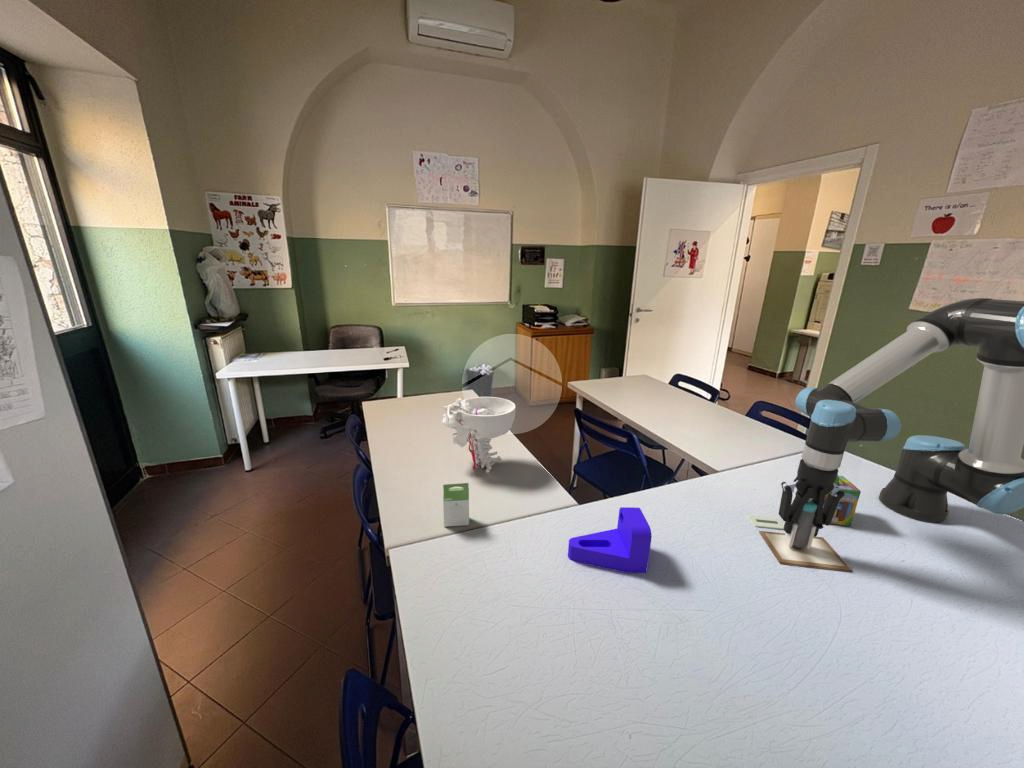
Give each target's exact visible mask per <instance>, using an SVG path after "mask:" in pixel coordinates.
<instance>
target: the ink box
mask: <svg viewBox="0 0 1024 768" xmlns="http://www.w3.org/2000/svg"><path fill="white" fill-rule="evenodd" d="M442 488H443V496H442V502H443V505H442V506H443V508H442V509H443V526H444V528H447V527H460V526H469V525H470V486H469V482H461V483H448V484H447V483H445V484H443V486H442Z"/></svg>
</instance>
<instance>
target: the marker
mask: <svg viewBox="0 0 1024 768" xmlns="http://www.w3.org/2000/svg"><path fill="white" fill-rule="evenodd" d="M816 509H817V504H816V503H815V502H814V501H813V500H811V499H809V500H808V502H807V503H805V505H804V507H803V509H802V511H801V513H800V515H799V516H798V518H797V520H796V522H795V523H796V524H797V525H798V527H797V531H796V534H795V538H794V542H793V545H792V547H793V548H796V549H802V547H805V546H806V542H807V539H808V535H809V532H810V529H811V525H812V522H813V518H814V515H815V512H816Z"/></svg>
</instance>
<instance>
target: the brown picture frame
mask: <svg viewBox="0 0 1024 768" xmlns="http://www.w3.org/2000/svg"><path fill="white" fill-rule="evenodd" d="M758 533H759V534H760V535H759V536H761V538H762V540H763V541H764V543H765V544H766V546H767V547H768V548H769V550H770V551H771V553H772V555H774V557H775V559H776V561H778V563H779V564H780V565H788V566H796V567H805V568H814V569H822V570H829V571H839V572H840V571H841V572H847V573H848V572H849V573H851V572H852V571H853V570H852V568H851V567H850V566H849V565H848V564H847V563H846V561H845V560H844V559H843V557H841V556H840V555H839V554H838V552H836V550H835V549H834V548H833V547H832V546H831V544H829V542H828V541H827V540H826V539H825V538H824V537H823V536H816V537H815V536H814V537H813V540H812V544H811V547H810V549H807V548H806V547H802V549H796V548H793V547H789V546H788V545H787V543H786V542H785V541H784V537H785V533H786V532H776V531H775V532H773V531H766V530H765V531H764V530H759V531H758Z"/></svg>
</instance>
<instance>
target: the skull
mask: <svg viewBox="0 0 1024 768" xmlns="http://www.w3.org/2000/svg"><path fill="white" fill-rule="evenodd" d="M443 409H444V410H445V412H446V413H444V414H443V415H442V416H443V417H442V421H441V423H442V424H443V425H444V426H446V427H447V428H449V429H451V430H453V429H454V431H455V432H456V433H452V442H453V444H454V445H458V446H459V447H460V448H464V447H465V446H466V445H467V444H468V451H469V452H470V454H471V457H472V462H473V465H472V469H475V468H476V465H478V468H479V469H480V467H481V469H484V468H486V469H485V472H486V473H491V471H492V465H494V464H496V463H495V462H499V463H501V462H502V457H501V456H499V455H498V451H494V452H490V451H491V450H492V449H493V446H492V444H490V443H491V440H492V439H494V438H497V437H500V436H503V435H506V434H507V433H509V431H510V430H511V428H512V426H513V424H514V422H515V416H516V410H517V409H516V404H515V403H514V402H513V401H511V400H509V399H506V398H501V397H496V396H476V397H470V398H466V399H463V398H462V397H459V398H457V399H456V401H455V402H453V403H450V404H448V405H445V406H443ZM496 455H498V456H497V457H493V456H496Z"/></svg>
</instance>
